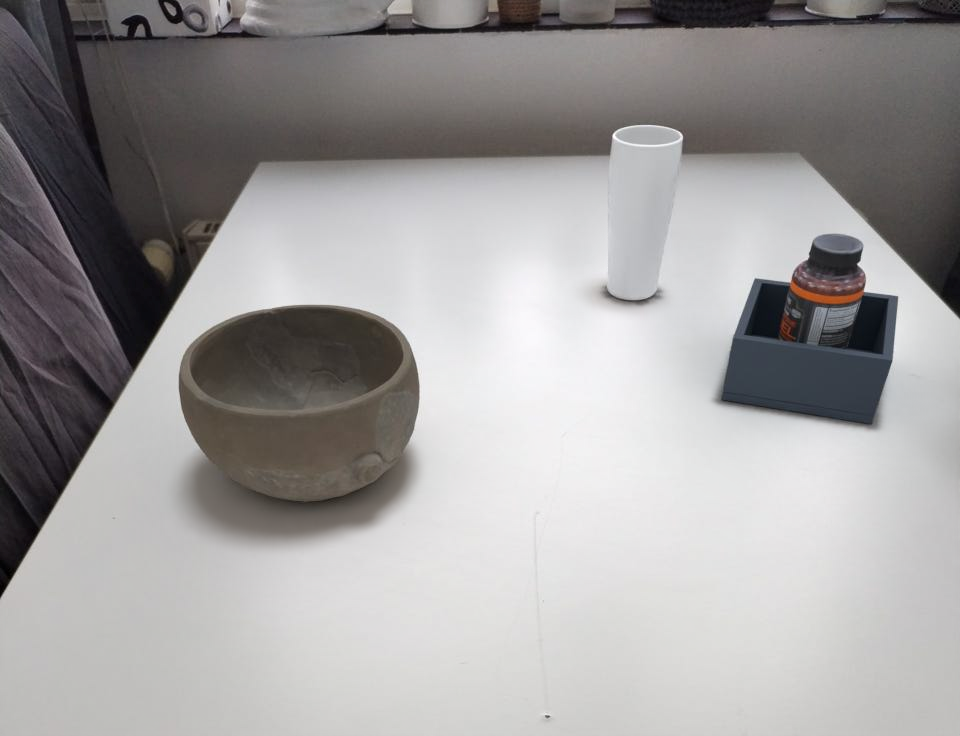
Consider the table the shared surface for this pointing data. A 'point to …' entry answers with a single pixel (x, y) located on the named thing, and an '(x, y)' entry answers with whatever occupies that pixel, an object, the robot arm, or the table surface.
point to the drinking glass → (640, 206)
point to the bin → (810, 359)
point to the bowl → (301, 399)
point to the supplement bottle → (825, 293)
